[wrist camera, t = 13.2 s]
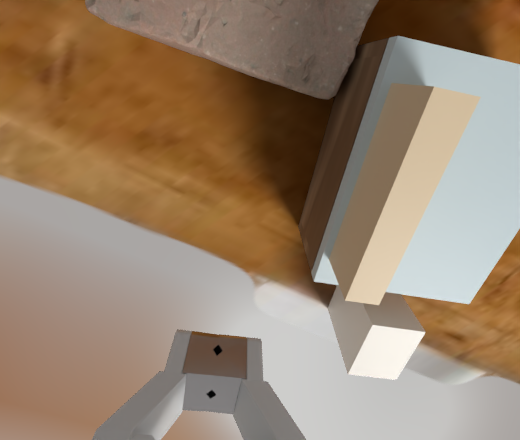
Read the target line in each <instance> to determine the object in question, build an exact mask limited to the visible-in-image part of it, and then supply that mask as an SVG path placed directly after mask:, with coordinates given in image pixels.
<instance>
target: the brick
mask: <svg viewBox="0 0 520 440" xmlns="http://www.w3.org/2000/svg"><path fill="white" fill-rule="evenodd" d="M378 1H379V0H86V1H85V4H86V7H87V9H88V11H89V12H90V13H92V14H94V15H96V16H97V17H99V18H101V19H102V20H104V21H106V22H107V23H109V24H111V25H114V26H116V27H119V28H122V29H125V30H127V31H130V32H133V33H136V34H139V35H141V36H144V37H146V38H149V39H152V40H155V41H158V42H161V43H163V44H166V45H168V46H171V47H174V48H177V49H180V50H182V51H185V52H188V53H190V54H193V55H196V56H199V57H202V58H205V59H209V60H211V61H213V62H216V63H218V64H221V65H223V66H226V67H228V68H231V69H234V70H236V71H239V72H242V73H244V74H247V75H249V76H252V77H255V78H258V79H261V80H264V81H268V82H271V83H273V84H277V85H280V86H283V87H286V88H289V89H291V90H294V91H297V92H300V93H303V94H306V95H309V96H312V97H315V98H320V99H327V100H328V99H330V98H332V97H334V96H335V95H336V94H337V92H338V90H339V88H340V85H341V83H342V81H343V78H344V77H345V75H346V73H347V72H348V68H349V66H350V65H351V63H352V61H353V59H354V57H355V51H356V47H357V45H358V43H359V40H360V38H361V36H362V32H363V30H364V28H365V25H366V23H367V20H368V18H369V17H370V15H371V13H372V11H373V10H374V7H375V6H376V4H377V2H378Z"/></svg>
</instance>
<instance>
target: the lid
mask: <svg viewBox="0 0 520 440" xmlns="http://www.w3.org/2000/svg"><path fill="white" fill-rule="evenodd" d="M519 229H520V64H515V63H511V62H507V61H503V60H498V59H494V58H490V57H486V56H482V55H477V54H473V53H469V52H465V51H461V50H456V49H452V48H448V47H444V46H440V45H435V44H431V43H427V42H423V41H419V40H414V39H410V38H406V37H402V36H394V37H390V38H389V40H388V43H387V46H386V49H385V52H384V55H383V58H382V61H381V64H380V67H379V70H378V73H377V76H376V79H375V82H374V85H373V88H372V91H371V94H370V97H369V100H368V103H367V106H366V109H365V112H364V115H363V118H362V121H361V124H360V127H359V130H358V133H357V136H356V139H355V142H354V145H353V149H352V152H351V155H350V158H349V161H348V164H347V167H346V170H345V173H344V176H343V179H342V182H341V185H340V188H339V191H338V194H337V197H336V200H335V203H334V206H333V209H332V212H331V215H330V218H329V221H328V224H327V227H326V230H325V233H324V236H323V239H322V242H321V245H320V248H319V251H318V254H317V257H316V260H315V263H314V266H313V269H312V272H311V274H312V277H313V281H314V282H320V283H327V284H334V285H339V287H340V289H341V292H342V294H343V297H344V299H345V301H352V302H359V303H366V304H373V305H379V304H380V302H381V300H382V298H383V296H384V294H385V292H389V293H396V294H403V295H410V296H417V297H423V298H430V299H437V300H444V301H451V302H458V303H465V304H470V302H471V301H472V299H473V298H474V296H475V295H476V293H477V292H478V290H479V289H480V287H481V286H482V284H483V283H484V281H485V280H486V278H487V277H488V275H489V274H490V272H491V271H492V269H493V268H494V266H495V265H496V263H497V262H498V260H499V259H500V257H501V256H502V254H503V253H504V251H505V250H506V248H507V247H508V245H509V244H510V242H511V241H512V239H513V238H514V236H515V235H516V233H517V232H518V230H519Z"/></svg>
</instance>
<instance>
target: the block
mask: <svg viewBox="0 0 520 440" xmlns="http://www.w3.org/2000/svg"><path fill="white" fill-rule="evenodd" d="M328 311H329V314H330V317H331V321H332V324H333V327H334V330H335V334H336V337H337V340H338V343H339V347H340V350H341V353H342V357H343V360H344V363H345V366H346V369H347V373H348V374H350V375H358V376H367V377H376V378H384V379H393V380H396V379H397V378H398V376H399V374H400V373H401V371H402V369H403V368H404V366H405V365H406V363H407V362H408V360H409V358H410V357H411V355H412V353H413V352H414V350H415V349H416V347H417V345H418V344H419V342H420V340H421V339H422V337H423V336H424V334H425V330H424V329H423V327H422V326H421V324H420V323H419V321H418V320H417V318H416V316H415V315H414V313H413V312H412V310H411V309H410V307H409V306H408V304H407V303H406V301H405V300H404V298H403V297H402V295H401V294H396V293H389V292H385V294H384V296H383V298H382V300H381V302H380V304H379V305H373V304H366V303H359V302H352V301H345V299H344V297H343V294H342V292H341V289H340V287H339V285H337V286H336V289H335V291H334V294H333V297H332V299H331V302H330V304H329V307H328Z"/></svg>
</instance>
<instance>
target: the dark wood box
mask: <svg viewBox="0 0 520 440" xmlns="http://www.w3.org/2000/svg"><path fill="white" fill-rule="evenodd" d="M388 40H389V38H386V39H382V40H378V41H374V42H370V43H366V44H362V45H358V46H357V47H356V51H355V57H354V59H353V61H352V63H351V65H350V66H349V68H348V72H347V73H346V75H345V77H344V78H343V81H342V83H341V85H340V88H339V90H338V92H337V94H336V95H335V99H334V102H333V106H332V109H331V113H330V116H329V120H328V123H327V127H326V130H325V134H324V138H323V141H322V145H321V148H320V152H319V155H318V159H317V162H316V166H315V169H314V173H313V176H312V180H311V184H310V187H309V191H308V194H307V198H306V201H305V205H304V208H303V212H302V215H301V219H300V223H299V226H298V227H299V231H300V234H301V238H302V242H303V245H304V249H305V252H306V256H307V259H308V263H309V267H310V270H311V271H312V269H313V266H314V263H315V260H316V257H317V254H318V251H319V248H320V245H321V242H322V239H323V236H324V233H325V230H326V227H327V224H328V221H329V218H330V215H331V212H332V209H333V206H334V203H335V200H336V197H337V194H338V191H339V188H340V185H341V182H342V179H343V176H344V173H345V170H346V167H347V164H348V161H349V158H350V155H351V152H352V149H353V145H354V142H355V139H356V136H357V133H358V130H359V127H360V124H361V121H362V118H363V115H364V112H365V109H366V106H367V103H368V100H369V97H370V94H371V91H372V88H373V85H374V82H375V79H376V76H377V73H378V70H379V67H380V64H381V61H382V58H383V55H384V52H385V49H386V46H387V43H388Z"/></svg>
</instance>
